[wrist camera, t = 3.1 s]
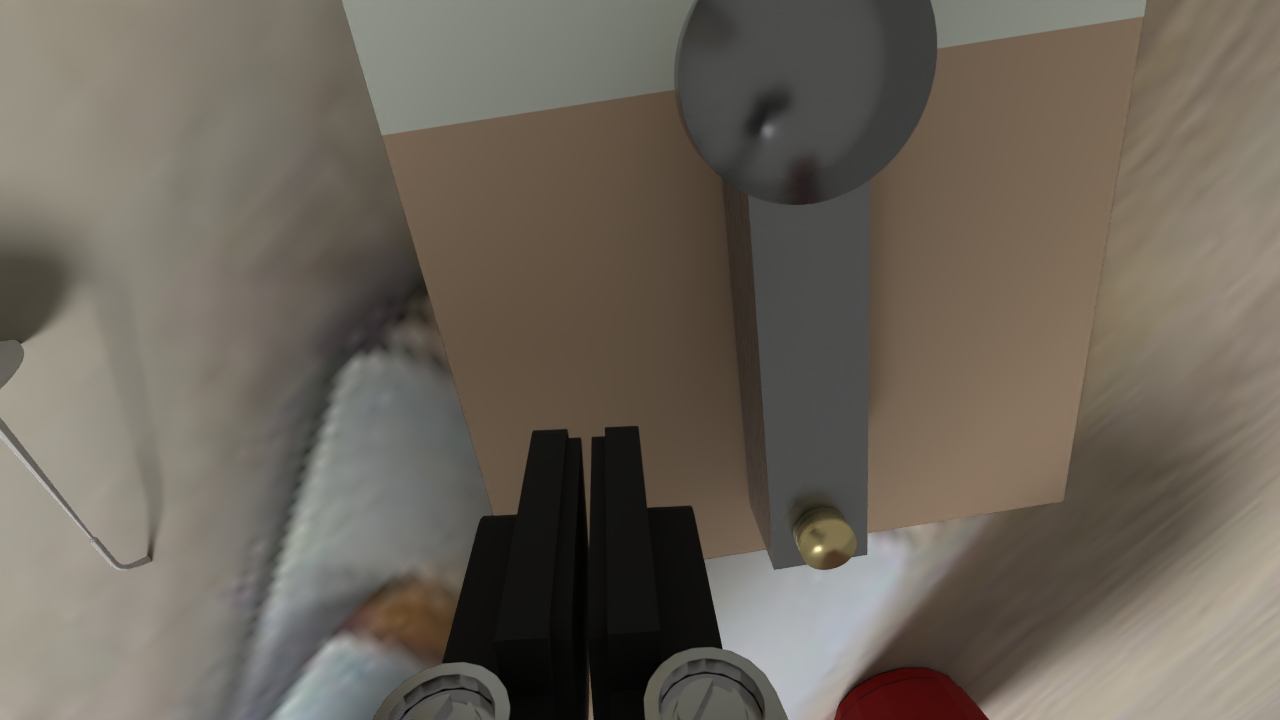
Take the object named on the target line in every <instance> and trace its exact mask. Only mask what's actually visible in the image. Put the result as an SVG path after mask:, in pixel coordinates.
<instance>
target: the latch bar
mask: <svg viewBox="0 0 1280 720" xmlns="http://www.w3.org/2000/svg"><path fill="white" fill-rule="evenodd" d="M936 61H937V30H936V22H935V16H934V12H933V8H932V4H931V0H694V2H693V4H692V5H691V8H690V10H689V12H688V14H687V16H686V19H685V21H684V23H683V27H682V30H681V33H680V36H679V39H678V44H677V50H676V55H675V65H674V91H675V98H676V104H677V109H678V113H679V116H680V119H681V123H682V126H683V128H684V130H685V132H686V135H687V137H688V139H689V141H690V142H691V144H692V146H693V147H694V149H695V151H696V152H697V154H698V155H699V156H700V157H701V158H702V160H703V161H704V162H705V163H706V165H708V166H709V167H710V168H711V169H712V170H713V171H714V172H715V173H716V174H717V175H719V176H720V177H721V178H722V186H723V198H724V209H725V221H726V233H727V244H728V256H729V268H730V279H731V291H732V303H733V314H734V326H735V338H736V349H737V361H738V373H739V384H740V396H741V408H742V419H743V431H744V442H745V454H746V466H747V477H748V489H749V501H750V507H751V509H752V512H753V515H754V517H755V520H756V523H757V525H758V528H759V531H760V533H761V536H762V539H763V541H764V544H765V547H766V549H767V552H768V555H769V557H770V560H771V562H772V565H773V568H774V570H776V569H782V568H788V567H794V566H800V565H806V564H808V565H809V566H811V567H813V568H815V569H820V570H828V569H833V568H836V567H839V566H841V565H843V564H844V563H846V562H847V561H848V560H849V559H850V558H851V557H856V556H862V555H867V517H868V407H869V298H870V188H871V179H872V178H873V177H874V176H875V175H876V174H878V173H879V172H880V171H881V170H882V169H884V168H885V167H886V166H887V165H888V164H889V163H890V162H891V160H892V159H893V158H894V157H895V156H896V155H897V154H898V153H899V151H900V150H901V149H902V148H903V146H904V145H905V144H906V142H907V141H908V140H909V138H910V136H911V135H912V133H913V131H914V130H915V128H916V126H917V125H918V122H919V120H920V118H921V116H922V114H923V112H924V110H925V107H926V104H927V101H928V98H929V95H930V93H931V89H932V85H933V80H934V76H935V70H936Z"/></svg>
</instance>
